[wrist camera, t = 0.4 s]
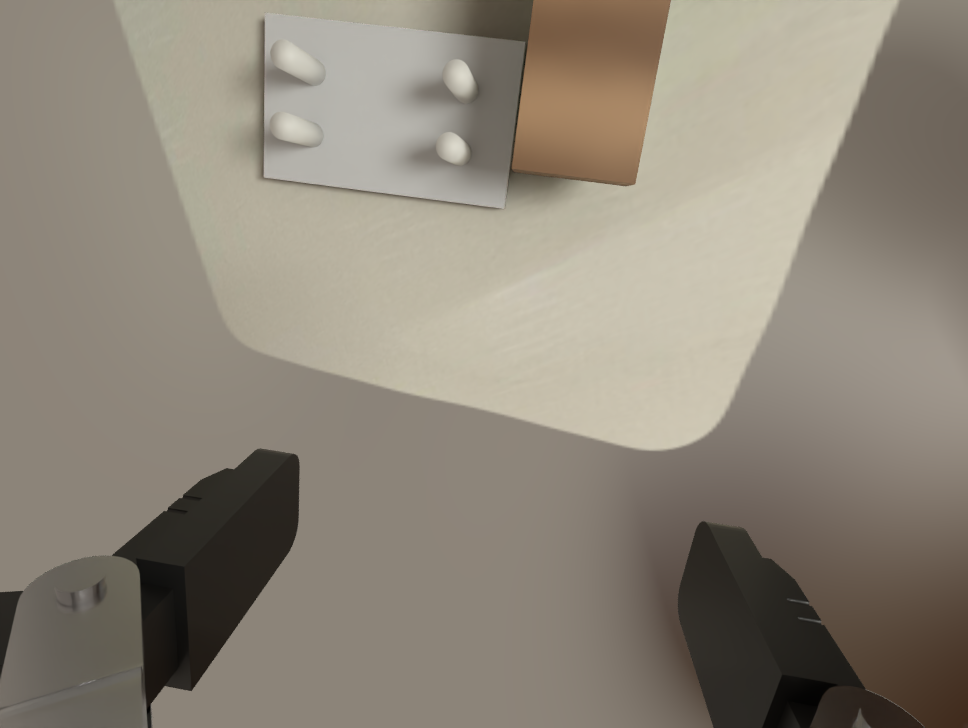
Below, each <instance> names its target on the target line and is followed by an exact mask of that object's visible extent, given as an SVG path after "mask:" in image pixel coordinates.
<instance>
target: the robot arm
mask: <svg viewBox="0 0 968 728" xmlns="http://www.w3.org/2000/svg"><path fill="white" fill-rule="evenodd" d="M298 516H299V459H298V456H297V455H295V454H290V453H285V452H279V451H272V450H266V449H257V450H255V451H254V452H253V453H252V454H251V455H250V456H249V457H247V459H245V460H244V461H243V462H242V463H241V464H240V465H239V466H238V467H237V468H235V469H228V468H226V469H224V470H222V471H220V472H217V473H215V474H213V475H211V476H208V477H206V478H204V479H202V480H200V481H199V482H198V483H197V484H196V485H194V486H193V487H192V488H191V489H190V490H188V492H186V493H185V494H184V495H183V498H179V499H178V500H177V501H175V502H174V503H173V504H172V505H171V506H170V507H168V510H167V512H166V511H164V512H163V513H161V514H160V515H159V516H158V517H157V518H156V519H154V520H153V521H152V522H151V523H150V524H148V525H147V526H146V527H145V528H144V529H142V530H141V531H140V532H139V533H138V534H137V535H135V536H134V537H133V538H132V539H131V540H129V541H128V542H127V543H126V544H125V545H124V546H122V547H121V548H120V549H119V550H118V551H116V552H115V554H113V555H112V556H92V557H87V558H81V559H78V560H74V561H71V562H68V563H65V564H62V565H60V566H57V567H55V568H53V569H51V570H49V571H47V572H45V573H44V574H43V575H41V576H39V577H38V578H36V579H35V580H34V581H33V582H32V583H30V584H29V586H27V588H26V589H25V590H24V591H15V592H0V728H153V725H152V709H151V703H152V702H153V700H154V699H155V698H156V697H157V695H158V694H159V693H160V691H161V690H162V689H163V687H164V686H168V687H173V688H178V689H183V690H189V691H192V690H193V688H194V687H195V685H196V684H197V682H198V681H199V680H200V678H201V677H202V675H203V674H204V673H205V671H206V670H207V668H208V666H209V665H210V664H211V663H212V661H213V660H214V658H215V657H216V655H217V654H218V652H219V651H220V650H221V648H222V647H223V645H224V644H225V643H226V641H227V639H228V638H229V637H230V635H231V634H232V633H233V631H234V630H235V628H236V627H237V626H238V624H239V623H240V621H241V620H242V618H243V617H244V615H245V614H246V613H247V611H248V610H249V608H250V607H251V606H252V604H253V603H254V601H255V600H256V598H257V597H258V595H259V594H260V593H261V591H262V590H263V588H264V587H265V586H266V584H267V583H268V581H269V580H270V578H271V577H272V576H273V574H274V573H275V571H276V570H277V568H278V567H279V566H280V564H281V563H282V561H283V560H284V558H285V557H286V556H287V554H288V553H289V551H290V549H291V547H292V545H293V542H294V540H295V536H296V532H297V527H298V518H299V517H298ZM678 614H679V620H680V624H681V627H682V630H683V633H684V636H685V639H686V642H687V645H688V649H689V652H690V655H691V658H692V661H693V664H694V667H695V670H696V674H697V677H698V680H699V683H700V686H701V689H702V692H703V696H704V698H705V702H706V705H707V708H708V711H709V714H710V718H711V721H712V724H713V727H714V728H925V727H924V726H923V725H922V724H921V723H920V722H919V721H917V720H916V719H915V718H914V717H913V716H912V715H910V714H909V713H907V712H906V711H905V710H904V709H902V708H901V707H899V706H898V705H896V704H894V703H893V702H891V701H889V700H888V699H885V698H884V697H882V696H880V695H878V694H875V693H873V692H871V691H868V690H866V689H865V687H864V686H863V684H862V683H861V681H860V679H859V678H858V676H857V675H856V673H855V672H854V670H853V669H852V667H851V666H850V664H849V663H848V661H847V659H846V658H845V656H844V655H843V653H842V652H841V650H840V649H839V647H838V646H837V644H836V642H835V641H834V639H833V638H832V637H831V635H830V633H829V632H828V630H827V629H826V627H825V626H824V625H821V620H820V618H819V616H818V615H817V613H816V612H815V610H814V608H813V607H812V606H809V601H808V600H807V598H806V596H805V595H804V593H803V592H802V590H801V588H800V587H799V585H798V584H797V582H796V581H795V579H793V578H792V577H791V576H790V575H789V574H788V573H786V572H785V571H784V570H783V569H782V568H781V567H780V566H779V565H777V564H776V563H775V562H774V561H773V560H772V559H768V558H762V556H761V555H760V553H759V551H758V550H757V548H756V546H755V545H754V543H753V541H752V540H751V538H750V536H749V535H748V533H747V531H746V530H745V529H744V528H741V527H735V526H729V525H723V524H717V523H711V522H705V521H704V522H701V523H700V524H699V525H698V527H697V529H696V531H695V535H694V538H693V542H692V545H691V549H690V552H689V556H688V559H687V563H686V566H685V570H684V573H683V577H682V580H681V584H680V588H679V594H678Z"/></svg>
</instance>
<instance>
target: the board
mask: <svg viewBox="0 0 968 728" xmlns="http://www.w3.org/2000/svg"><path fill="white" fill-rule="evenodd" d="M670 2H671V0H533V8H532V16H531V23H530V31H529V39H528V46H527V54H526V61H525V69H524V77H523V84H522V92H521V100H520V107H519V115H518V123H517V130H516V138H515V146H514V153H513V161H512V170H513V171H514V172H517V173H525V174H533V175H541V176H549V177H557V178H565V179H573V180H581V181H588V182H596V183H604V184H612V185H620V186H629V185H634V184H635V183H636V177H637V172H638V167H639V162H640V157H641V152H642V146H643V141H644V136H645V131H646V126H647V121H648V115H649V110H650V105H651V100H652V95H653V90H654V84H655V79H656V74H657V69H658V64H659V59H660V53H661V48H662V43H663V38H664V33H665V28H666V22H667V17H668V12H669V7H670Z"/></svg>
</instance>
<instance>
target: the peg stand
mask: <svg viewBox="0 0 968 728" xmlns="http://www.w3.org/2000/svg"><path fill="white" fill-rule="evenodd" d="M525 49H526V43H525V42H524V41H515V40H506V39H497V38H489V37H480V36H471V35H462V34H453V33H444V32H435V31H426V30H417V29H408V28H399V27H390V26H381V25H372V24H363V23H354V22H346V21H337V20H328V19H319V18H310V17H301V16H292V15H283V14H274V13H265V73H264V178H272V179H279V180H287V181H295V182H302V183H310V184H318V185H325V186H333V187H341V188H348V189H356V190H364V191H371V192H379V193H387V194H394V195H402V196H410V197H417V198H425V199H433V200H440V201H448V202H456V203H463V204H471V205H479V206H486V207H494V208H502V209H505V203H506V196H507V188H508V180H509V172H510V165H511V157H512V149H513V142H514V134H515V126H516V118H517V111H518V103H519V95H520V88H521V80H522V72H523V64H524V57H525Z"/></svg>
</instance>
